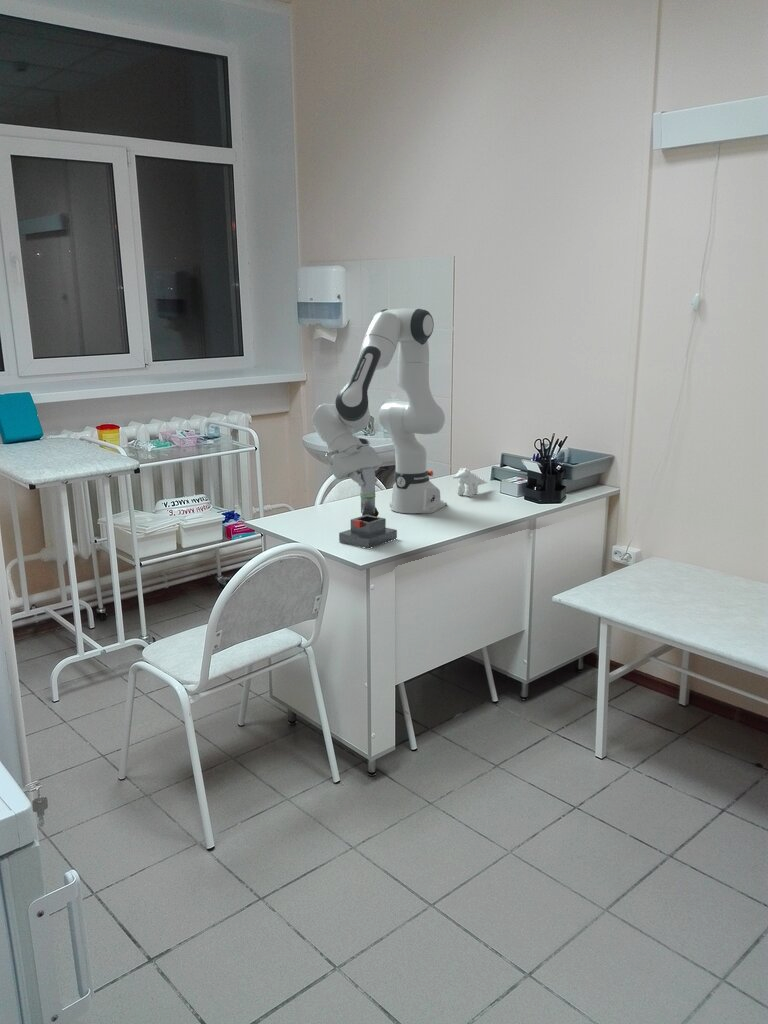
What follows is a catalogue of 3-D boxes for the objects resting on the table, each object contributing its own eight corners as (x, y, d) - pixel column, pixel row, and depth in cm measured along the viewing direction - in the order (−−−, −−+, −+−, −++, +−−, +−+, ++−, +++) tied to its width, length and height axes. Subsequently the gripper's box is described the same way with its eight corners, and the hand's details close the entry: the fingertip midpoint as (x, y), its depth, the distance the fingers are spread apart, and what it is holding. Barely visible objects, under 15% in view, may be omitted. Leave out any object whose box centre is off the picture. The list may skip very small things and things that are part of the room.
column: (367, 509, 259) (366, 466, 255) (378, 512, 256) (378, 468, 252) (357, 512, 255) (357, 468, 252) (369, 515, 252) (368, 470, 249)
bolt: (362, 536, 270) (368, 523, 284) (375, 529, 269) (381, 516, 283) (353, 521, 269) (360, 508, 283) (366, 514, 268) (372, 502, 282)
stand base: (367, 532, 267) (367, 510, 265) (396, 538, 259) (396, 516, 258) (339, 542, 256) (338, 518, 254) (368, 548, 249) (368, 525, 247)
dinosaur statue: (444, 496, 313) (446, 467, 311) (479, 492, 331) (482, 465, 329) (459, 499, 309) (461, 470, 307) (493, 494, 327) (496, 467, 325)
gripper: (328, 447, 247) (352, 483, 243) (371, 438, 262) (395, 472, 259) (317, 460, 250) (341, 495, 247) (360, 451, 266) (384, 484, 262)
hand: (369, 483), depth 253 cm, fingers closed on column, 4 cm apart
